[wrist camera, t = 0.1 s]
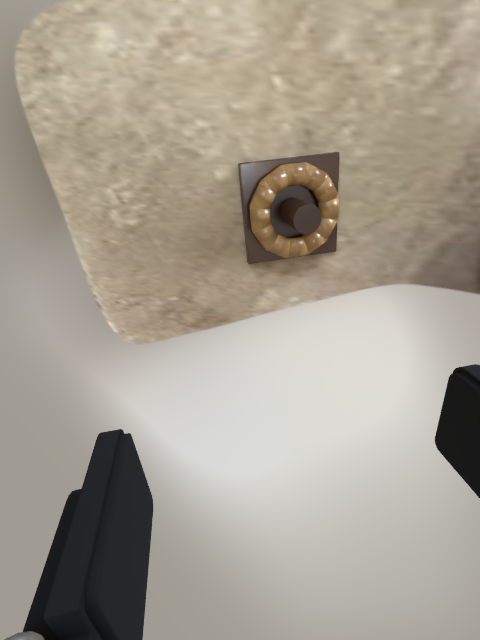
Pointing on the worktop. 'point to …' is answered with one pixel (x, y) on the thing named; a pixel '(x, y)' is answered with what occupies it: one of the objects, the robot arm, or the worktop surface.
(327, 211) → the ring
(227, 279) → the worktop surface
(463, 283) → the worktop surface
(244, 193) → the peg stand
